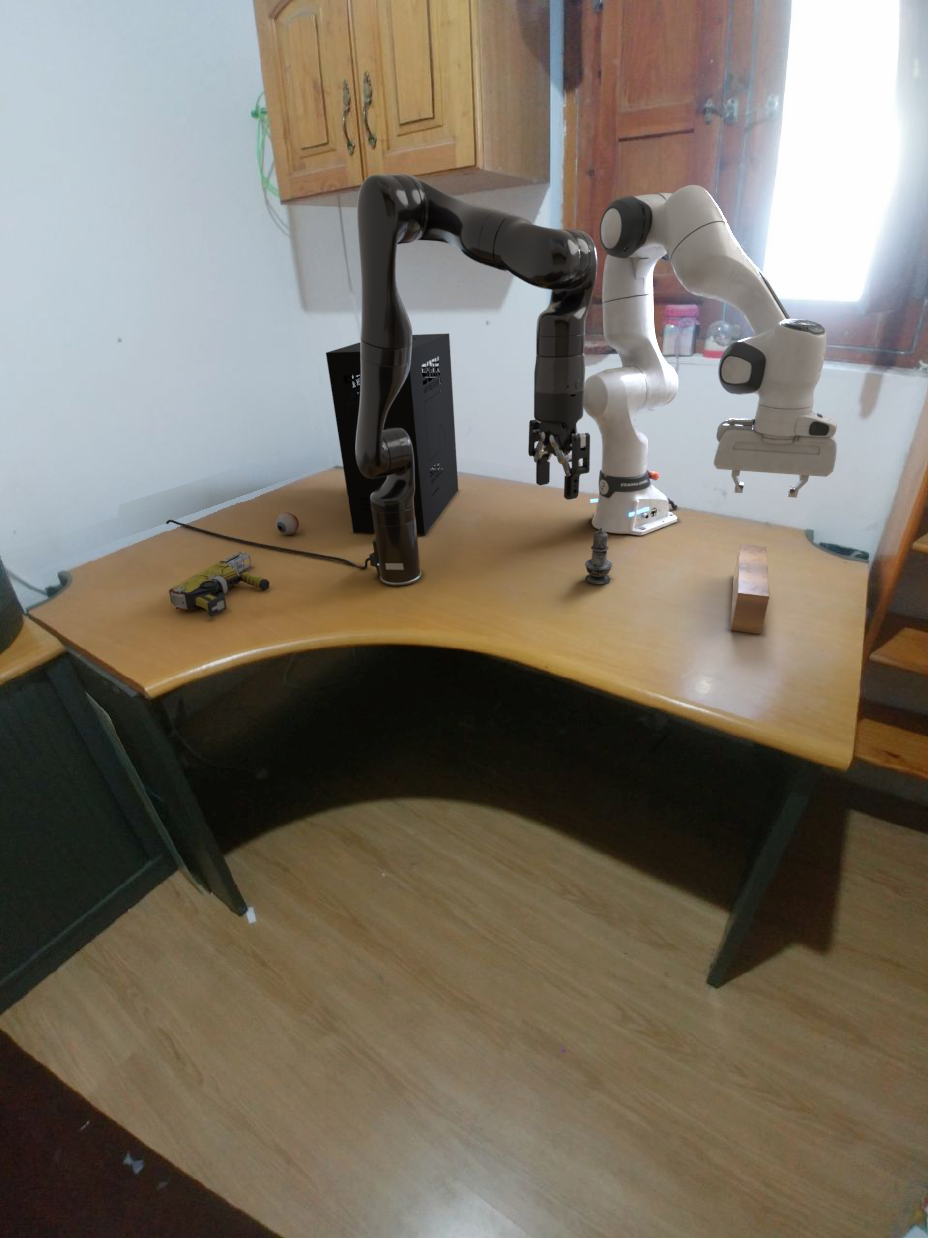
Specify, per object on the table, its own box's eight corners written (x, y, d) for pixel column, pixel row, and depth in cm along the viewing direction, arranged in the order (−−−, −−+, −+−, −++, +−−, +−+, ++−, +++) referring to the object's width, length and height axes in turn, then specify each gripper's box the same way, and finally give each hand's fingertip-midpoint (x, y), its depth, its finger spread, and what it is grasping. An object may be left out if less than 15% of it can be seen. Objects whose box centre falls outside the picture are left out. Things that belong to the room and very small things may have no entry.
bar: (733, 577, 130) (739, 543, 126) (759, 580, 128) (766, 546, 124) (730, 630, 112) (738, 592, 108) (760, 634, 110) (769, 596, 106)
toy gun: (290, 560, 142) (237, 549, 146) (223, 603, 122) (163, 589, 126) (292, 578, 144) (239, 566, 148) (226, 623, 124) (167, 609, 128)
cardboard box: (424, 535, 159) (408, 350, 137) (353, 532, 164) (325, 352, 141) (458, 489, 191) (449, 333, 168) (397, 488, 195) (380, 335, 173)
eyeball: (273, 537, 164) (268, 516, 161) (287, 528, 169) (282, 508, 166) (291, 539, 161) (286, 518, 158) (305, 530, 166) (301, 510, 163)
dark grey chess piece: (611, 585, 129) (615, 533, 123) (583, 584, 130) (586, 532, 124) (611, 573, 134) (615, 522, 128) (584, 572, 135) (587, 521, 129)
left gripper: (514, 383, 95) (515, 483, 103) (564, 396, 84) (560, 508, 92) (555, 378, 98) (552, 476, 106) (608, 389, 86) (601, 499, 94)
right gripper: (719, 421, 109) (706, 494, 117) (847, 427, 103) (825, 504, 110) (720, 413, 114) (707, 484, 122) (842, 419, 108) (822, 493, 115)
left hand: (556, 491), depth 99 cm, fingers open, 8 cm apart
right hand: (764, 494), depth 116 cm, fingers open, 8 cm apart
